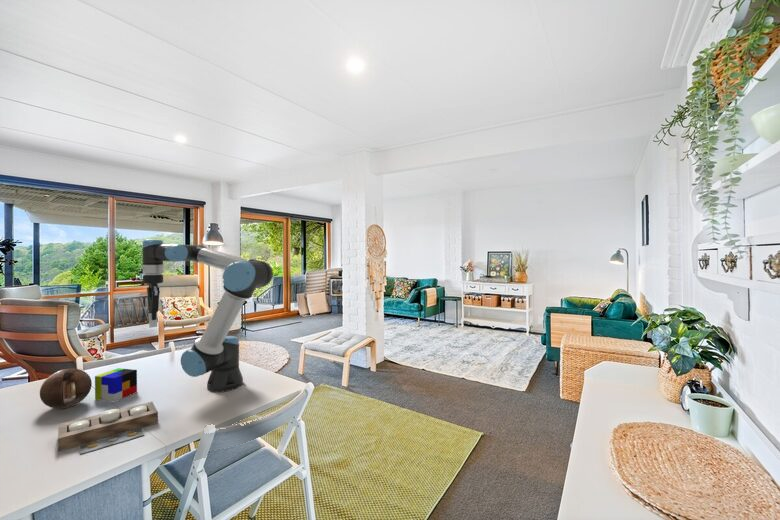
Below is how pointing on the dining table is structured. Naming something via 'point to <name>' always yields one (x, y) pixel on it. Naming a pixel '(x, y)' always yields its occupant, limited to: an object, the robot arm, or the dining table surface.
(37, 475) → the dining table surface
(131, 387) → the puzzle toy
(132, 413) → the right button
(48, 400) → the wooden sphere
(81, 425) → the left button
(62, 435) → the button board
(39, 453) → the dining table surface
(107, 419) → the middle button
